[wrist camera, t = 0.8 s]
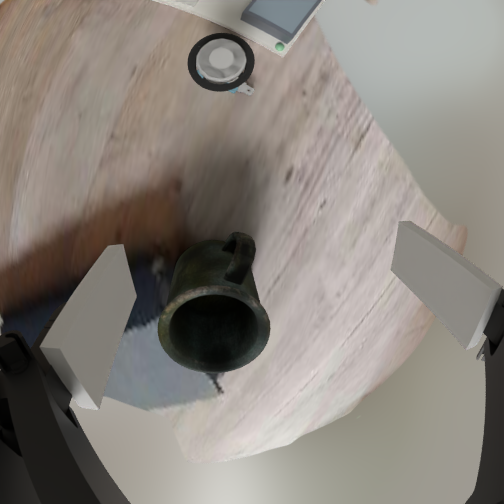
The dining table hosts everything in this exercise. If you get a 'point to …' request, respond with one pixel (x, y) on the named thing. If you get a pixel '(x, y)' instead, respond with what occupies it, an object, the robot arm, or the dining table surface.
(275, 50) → the board
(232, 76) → the push button
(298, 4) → the blue-grey rectangular block
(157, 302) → the dining table surface
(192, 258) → the mug
